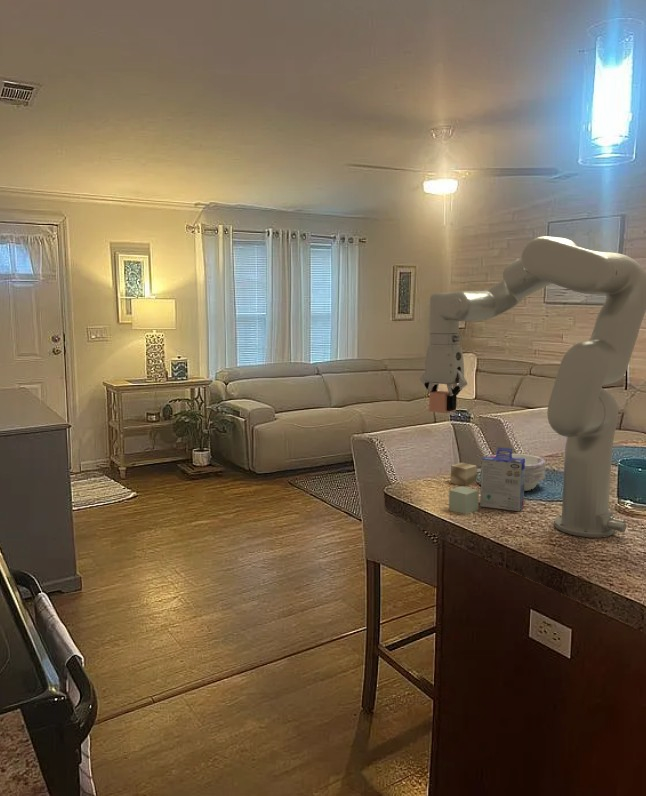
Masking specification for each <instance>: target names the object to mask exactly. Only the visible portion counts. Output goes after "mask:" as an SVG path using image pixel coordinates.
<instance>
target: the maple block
mask: <svg viewBox="0 0 646 796" xmlns="http://www.w3.org/2000/svg"><path fill="white" fill-rule="evenodd" d="M477 469H478V468H477V465H475V464H470V463H466V462H458V463H456V464H452V465H450V483H451V484H456V485H458V486H464V487H467V486H471V485H474V484H476V483H477Z"/></svg>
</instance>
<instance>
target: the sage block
mask: <svg viewBox="0 0 646 796" xmlns="http://www.w3.org/2000/svg"><path fill="white" fill-rule="evenodd" d="M448 495H449V496H448V510H449V511H452V512H456V513H459V512H460V513H459V514H463V515H468V514H470V513H474V512H476V511H478V510H479V496H480V495H479V489H474V488H471V487H467V486H462V485H459V486H457V487H455V488H452V489H449V491H448ZM473 511H474V512H473Z"/></svg>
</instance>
